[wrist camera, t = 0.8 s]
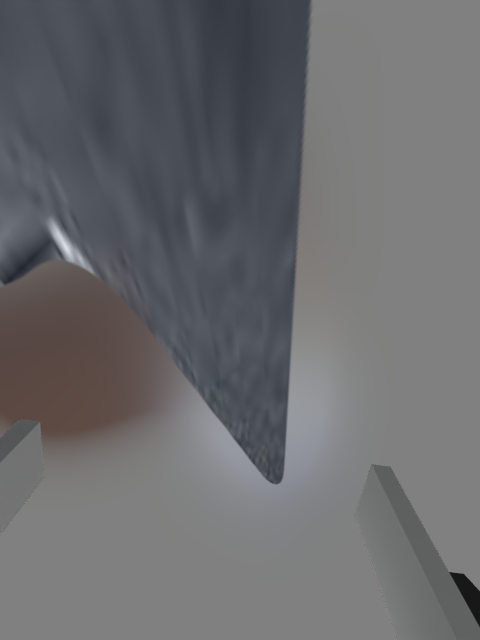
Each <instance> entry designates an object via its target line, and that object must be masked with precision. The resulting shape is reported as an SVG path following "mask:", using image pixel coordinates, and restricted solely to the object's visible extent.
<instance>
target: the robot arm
mask: <svg viewBox="0 0 480 640" xmlns="http://www.w3.org/2000/svg"><path fill="white" fill-rule="evenodd" d="M43 478H44V466H43V454H42V442H41V430H40V422H35V421H27V420H19V421H18V422H17V423H16V424H15V425H14V426H12V428H10V429H9V430H8V431H7V432H6V433H5V434H4V435H3V436H2V437H1V438H0V535H1V534H2V532H3V531H4V530H5V528H6V527H7V526H8V525H9V523H10V522H11V521H12V519H13V518H14V516H15V515H16V514H17V513H18V511H19V510H20V509H21V507H22V506H23V505H24V503H25V502H26V501H27V499H28V498H29V497H30V495H31V494H32V493H33V491H34V490H35V489H36V488H37V486H38V485H39V484H40V482H41V481H42V479H43ZM354 517H355V520H356V522H357V525H358V528H359V531H360V534H361V537H362V539H363V542H364V545H365V548H366V551H367V554H368V557H369V560H370V563H371V565H372V568H373V571H374V574H375V577H376V579H377V583H378V585H379V588H380V591H381V594H382V597H383V600H384V603H385V606H386V608H387V611H388V614H389V617H390V620H391V622H392V626H393V628H394V631H395V634H396V637H397V640H480V591H479V590H478V589H477V588H476V587H475V586H474V585H473V583H472V582H471V581H470V580H469V579H468V578H467V577H466V576H465V575H464V574H460V573H452V572H448V569H447V568H446V566H445V564H444V562H443V560H442V559H441V557H440V556H439V553H438V551H437V550H436V548H435V547H434V544H433V543H432V541H431V539H430V537H429V535H428V534H427V532H426V530H425V528H424V527H423V525H422V523H421V521H420V519H419V517H418V516H417V514H416V512H415V510H414V508H413V507H412V505H411V503H410V501H409V500H408V498H407V496H406V494H405V492H404V490H403V489H402V487H401V485H400V483H399V481H398V480H397V478H396V476H395V474H394V472H393V471H392V469H391V467H388V466H380V465H371V467H370V471H369V473H368V476H367V479H366V482H365V485H364V488H363V491H362V493H361V497H360V500H359V502H358V505H357V508H356V511H355V514H354Z"/></svg>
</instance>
